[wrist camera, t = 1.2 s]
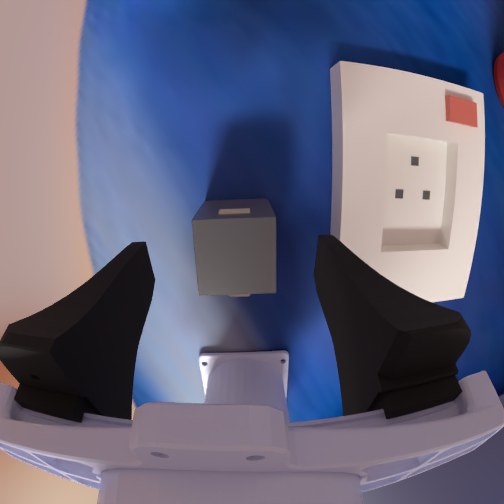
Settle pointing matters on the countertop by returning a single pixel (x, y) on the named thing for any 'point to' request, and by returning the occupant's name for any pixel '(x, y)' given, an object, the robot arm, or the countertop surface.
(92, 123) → the countertop surface
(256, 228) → the plug
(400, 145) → the socket plate
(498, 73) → the canned food
